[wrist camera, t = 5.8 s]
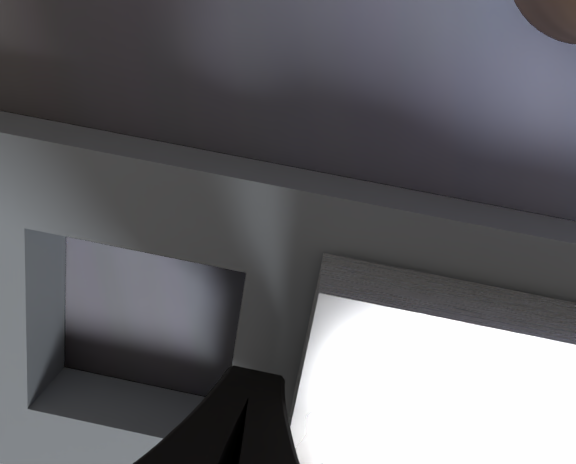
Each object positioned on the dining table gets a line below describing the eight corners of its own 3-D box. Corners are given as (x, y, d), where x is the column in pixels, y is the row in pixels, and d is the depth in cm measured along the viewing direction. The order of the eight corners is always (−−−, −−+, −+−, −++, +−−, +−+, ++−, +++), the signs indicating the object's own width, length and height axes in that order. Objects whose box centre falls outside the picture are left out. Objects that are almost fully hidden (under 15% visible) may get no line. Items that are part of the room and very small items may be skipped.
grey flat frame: (653, 236, 13) (705, 268, 11) (522, 523, 16) (544, 584, 15) (-33, 104, 14) (-93, 114, 12) (-16, 406, 17) (-60, 449, 15)
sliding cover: (660, 319, 11) (722, 374, 9) (543, 557, 14) (573, 637, 12) (323, 252, 12) (318, 292, 10) (271, 497, 14) (260, 566, 12)
